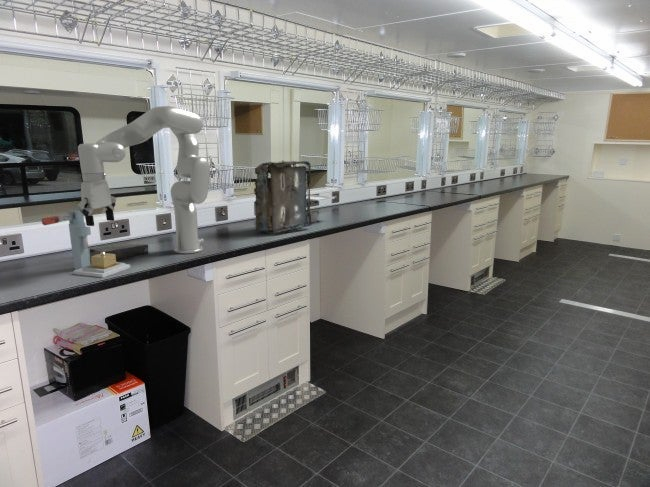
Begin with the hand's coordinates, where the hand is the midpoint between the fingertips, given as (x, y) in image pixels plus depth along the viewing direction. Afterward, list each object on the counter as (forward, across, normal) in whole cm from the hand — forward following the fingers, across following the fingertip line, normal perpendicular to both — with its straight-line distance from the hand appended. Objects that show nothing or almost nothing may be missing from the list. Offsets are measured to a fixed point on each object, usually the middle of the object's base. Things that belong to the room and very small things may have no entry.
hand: (100, 223), depth 171 cm
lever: (-1, +7, -11) cm, 13 cm away
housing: (+17, +1, 0) cm, 17 cm away
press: (+19, +1, -4) cm, 19 cm away
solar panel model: (+23, -127, +35) cm, 133 cm away
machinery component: (+22, -90, +31) cm, 98 cm away
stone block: (+20, -19, -12) cm, 30 cm away
